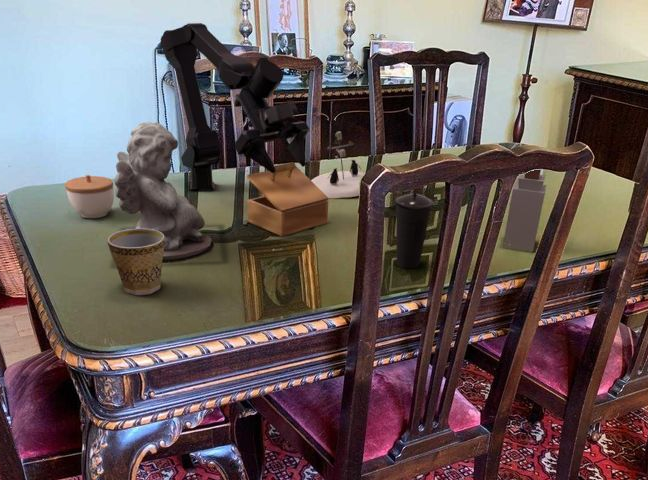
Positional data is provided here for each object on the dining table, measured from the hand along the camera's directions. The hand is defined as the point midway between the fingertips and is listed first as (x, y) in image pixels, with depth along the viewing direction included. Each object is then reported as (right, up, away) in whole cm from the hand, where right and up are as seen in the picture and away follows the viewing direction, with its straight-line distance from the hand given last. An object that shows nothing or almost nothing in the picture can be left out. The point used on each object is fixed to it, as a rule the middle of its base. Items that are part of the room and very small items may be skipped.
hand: (289, 168), depth 147 cm
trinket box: (-48, -9, +7) cm, 49 cm away
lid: (-1, -4, +3) cm, 5 cm away
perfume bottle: (+53, -18, 0) cm, 56 cm away
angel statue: (-25, -19, -8) cm, 32 cm away
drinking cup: (+26, -24, -12) cm, 37 cm away
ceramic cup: (-26, -30, -25) cm, 47 cm away
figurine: (+13, +3, +32) cm, 35 cm away
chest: (-1, -11, +7) cm, 13 cm away
